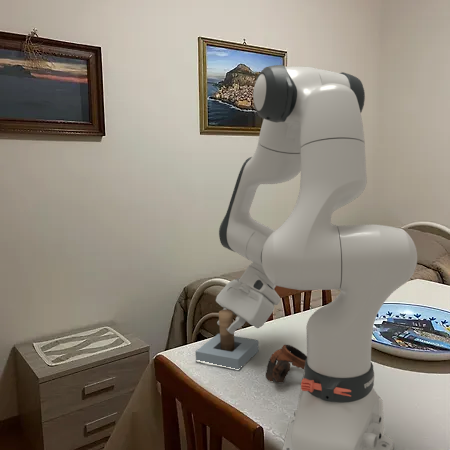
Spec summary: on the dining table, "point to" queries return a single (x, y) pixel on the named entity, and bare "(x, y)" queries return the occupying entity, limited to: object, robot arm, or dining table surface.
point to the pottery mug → (284, 362)
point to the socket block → (228, 352)
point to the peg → (225, 336)
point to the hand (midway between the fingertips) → (224, 329)
